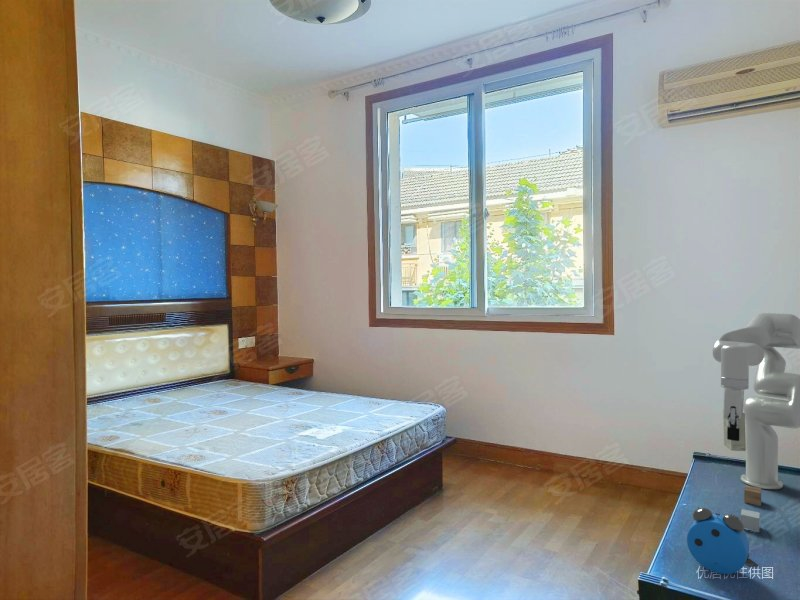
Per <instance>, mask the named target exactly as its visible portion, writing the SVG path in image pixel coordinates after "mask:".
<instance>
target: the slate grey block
mask: <svg viewBox="0 0 800 600" xmlns="http://www.w3.org/2000/svg"><path fill="white" fill-rule="evenodd" d="M760 514H761V513H760V512H758V511H753V510H750V509H743V508H741V512H740V520H741V521H742V522H743V524H744V528H748V529H751V530H753V531H756V532H759V533H760V524H761V523H760V521H761V520H760V518H761V516H760ZM756 532H755V533H756Z"/></svg>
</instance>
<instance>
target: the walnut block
mask: <svg viewBox="0 0 800 600" xmlns="http://www.w3.org/2000/svg"><path fill="white" fill-rule="evenodd" d="M743 491H744V493H743V496H744V499H743V503H744V502H745V503H744V504H748V503H749V504H748V505H752V504H755V505H754V506H757V505H760V506H759V507H761V505H762V488H758V487H754V486H751V485H747V484H746V485H744V490H743Z"/></svg>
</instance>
